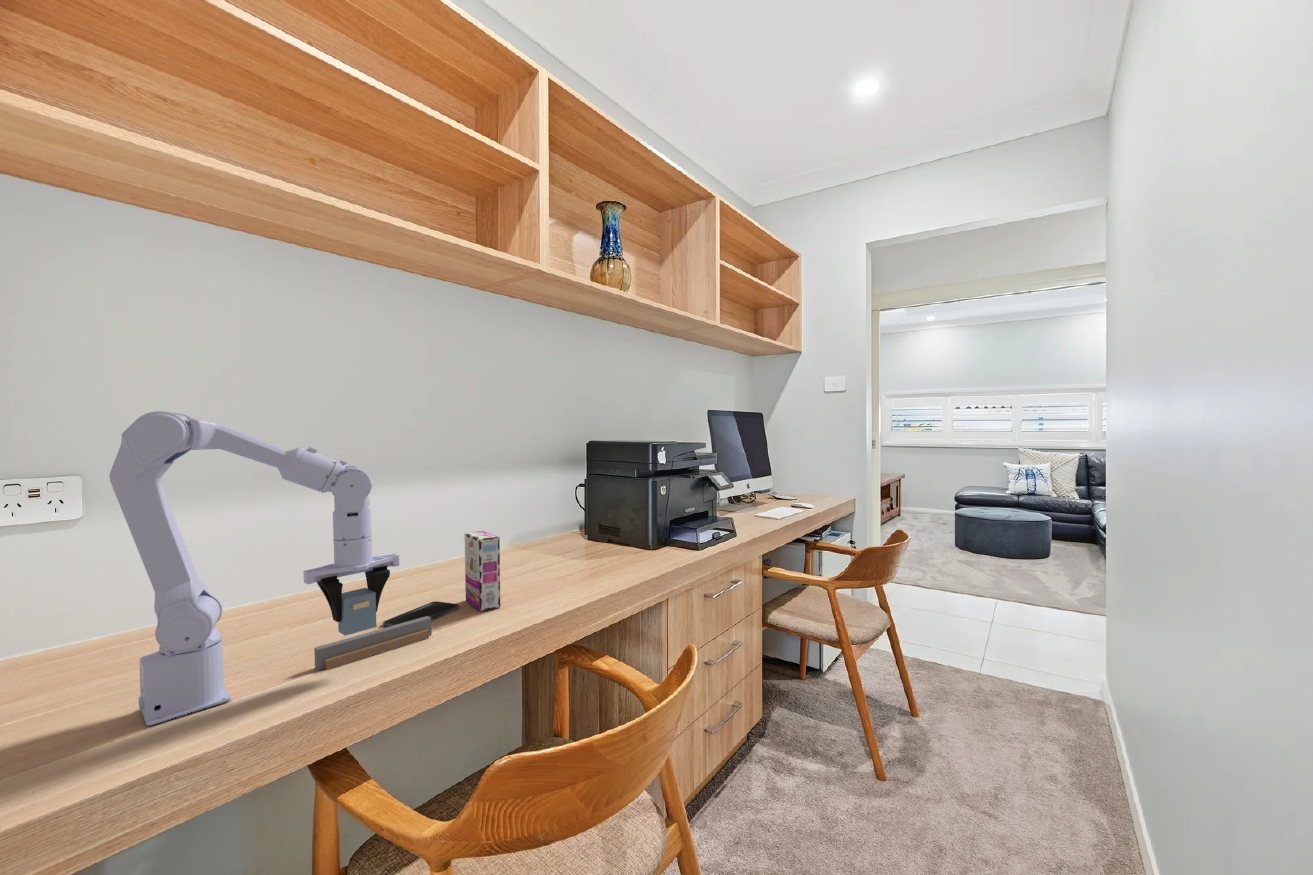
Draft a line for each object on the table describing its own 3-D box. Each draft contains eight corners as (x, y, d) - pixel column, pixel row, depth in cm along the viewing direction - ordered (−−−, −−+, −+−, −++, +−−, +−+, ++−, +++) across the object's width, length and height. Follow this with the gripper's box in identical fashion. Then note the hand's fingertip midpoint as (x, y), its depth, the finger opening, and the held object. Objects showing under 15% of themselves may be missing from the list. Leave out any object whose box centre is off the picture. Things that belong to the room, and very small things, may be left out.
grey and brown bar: (320, 672, 91) (319, 651, 91) (314, 667, 93) (314, 647, 93) (434, 636, 106) (433, 618, 106) (427, 633, 108) (427, 616, 108)
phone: (380, 622, 112) (434, 600, 126) (380, 628, 112) (434, 605, 126) (408, 627, 109) (460, 604, 123) (408, 632, 109) (461, 609, 123)
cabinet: (346, 636, 88) (345, 600, 88) (335, 629, 92) (334, 594, 92) (377, 627, 92) (376, 593, 92) (366, 620, 96) (365, 587, 95)
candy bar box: (502, 607, 123) (500, 536, 123) (480, 612, 120) (478, 539, 120) (485, 596, 132) (483, 529, 131) (464, 600, 129) (463, 532, 128)
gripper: (312, 548, 84) (315, 634, 84) (405, 532, 95) (408, 609, 95) (298, 542, 89) (301, 623, 89) (388, 528, 99) (391, 601, 100)
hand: (355, 615), depth 92 cm, fingers closed on cabinet, 5 cm apart
